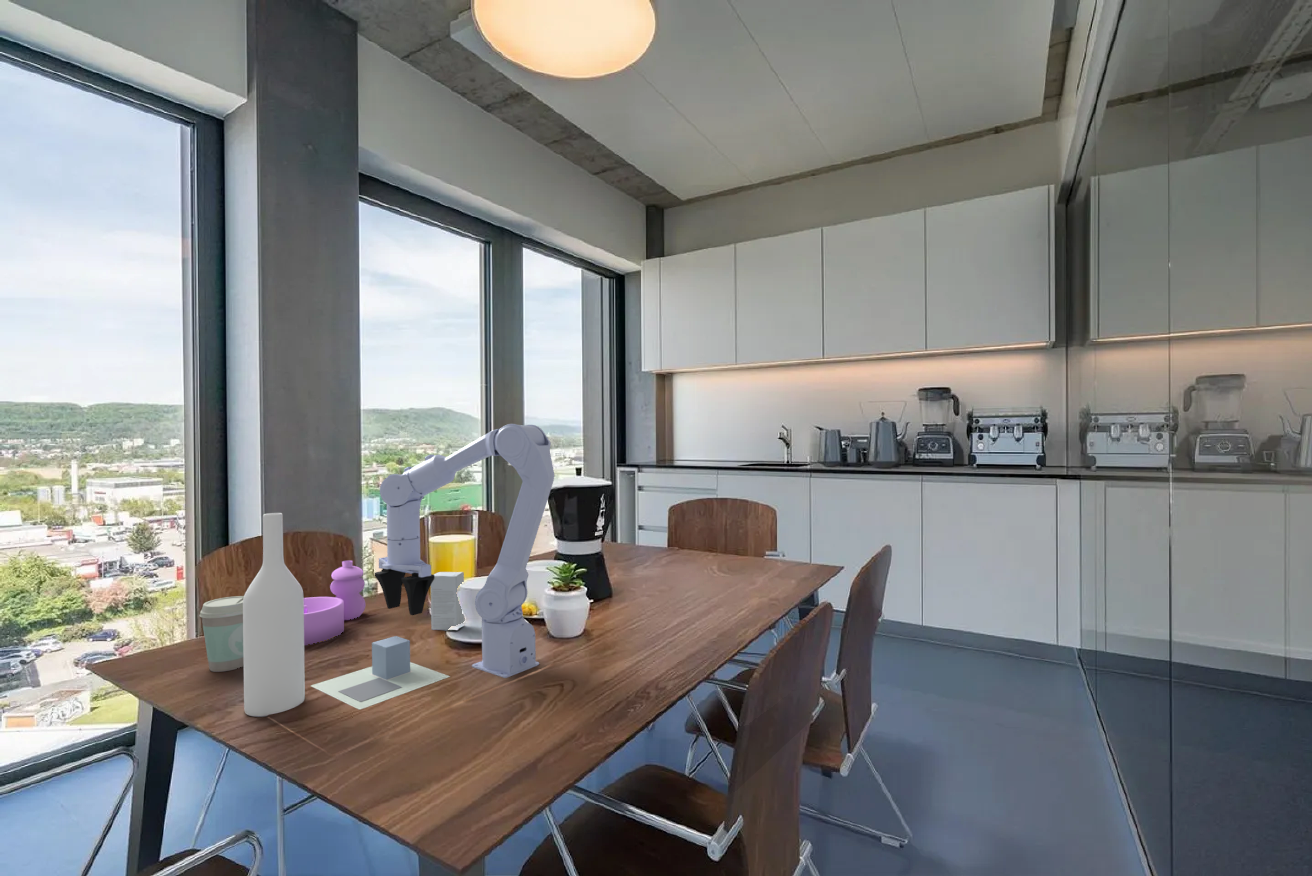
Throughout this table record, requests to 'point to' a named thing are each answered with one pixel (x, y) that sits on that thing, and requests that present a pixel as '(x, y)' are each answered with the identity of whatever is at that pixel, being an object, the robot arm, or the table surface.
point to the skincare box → (446, 600)
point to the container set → (334, 605)
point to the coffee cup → (223, 633)
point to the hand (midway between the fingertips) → (404, 610)
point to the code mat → (376, 685)
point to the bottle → (273, 631)
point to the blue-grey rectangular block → (390, 657)
